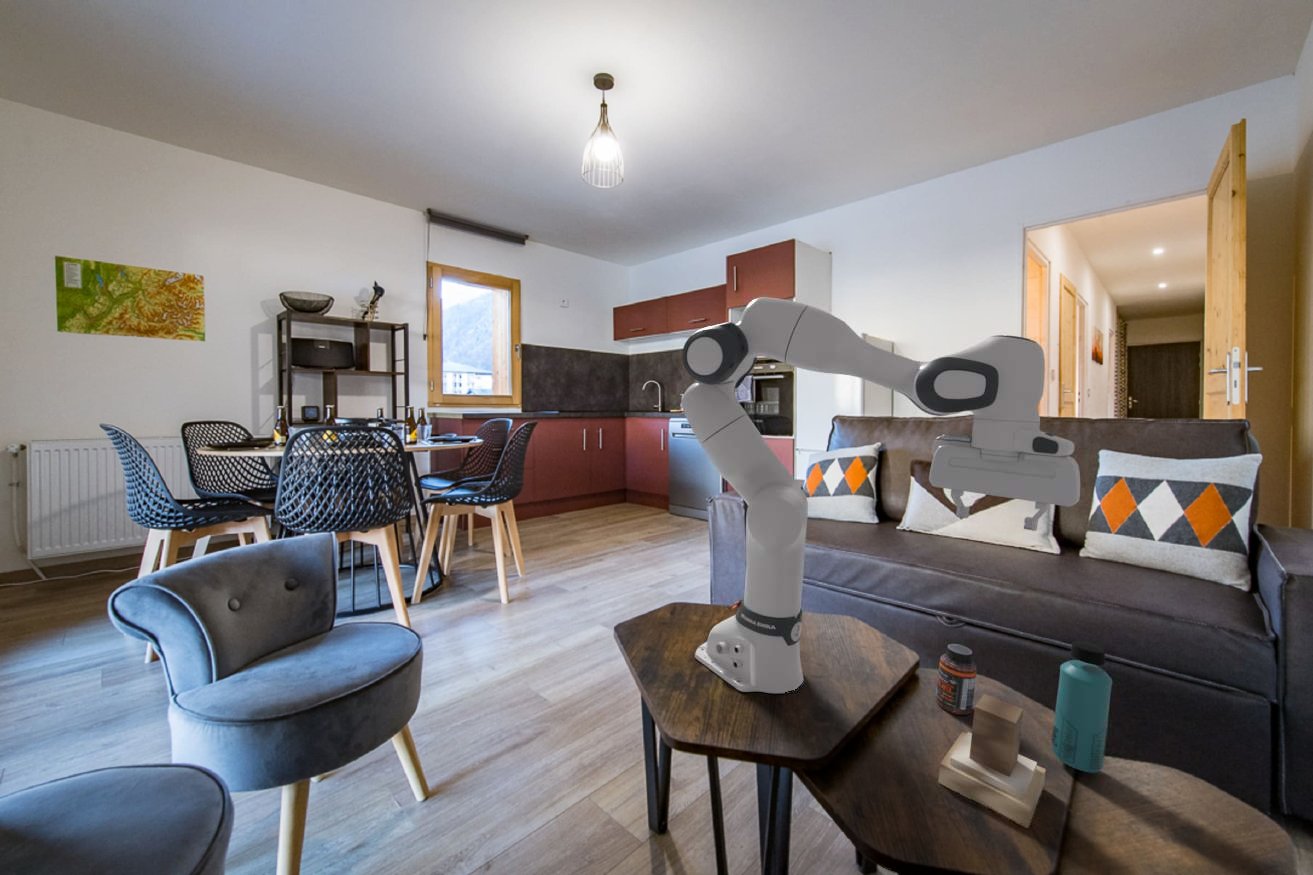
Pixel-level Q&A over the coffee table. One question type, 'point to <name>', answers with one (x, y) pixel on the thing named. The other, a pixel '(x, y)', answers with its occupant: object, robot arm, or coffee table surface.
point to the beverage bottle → (1082, 709)
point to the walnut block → (996, 734)
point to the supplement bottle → (956, 680)
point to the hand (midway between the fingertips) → (994, 523)
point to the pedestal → (993, 781)
